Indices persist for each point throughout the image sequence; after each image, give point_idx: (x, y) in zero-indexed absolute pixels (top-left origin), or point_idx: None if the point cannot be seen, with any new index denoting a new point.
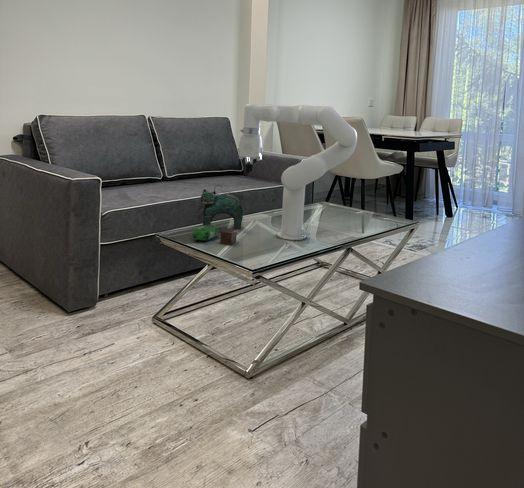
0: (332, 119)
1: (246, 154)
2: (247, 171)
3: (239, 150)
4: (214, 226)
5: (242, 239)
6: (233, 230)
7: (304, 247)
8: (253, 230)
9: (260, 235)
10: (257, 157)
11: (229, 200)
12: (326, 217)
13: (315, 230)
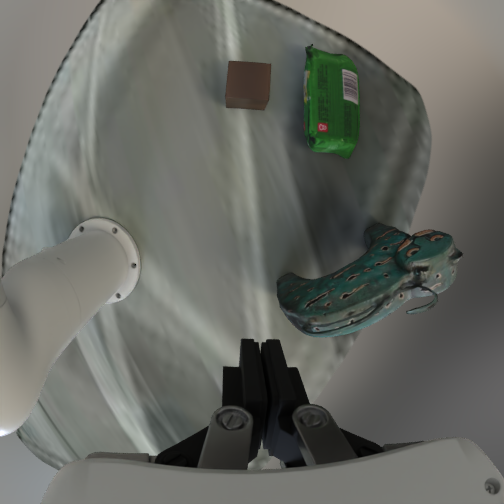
0: None
1: (347, 501)
2: (269, 344)
3: (501, 490)
4: (318, 115)
5: (220, 148)
6: (235, 90)
7: (48, 170)
8: (229, 278)
9: (185, 227)
10: (87, 462)
11: (345, 290)
12: None
13: (86, 356)
